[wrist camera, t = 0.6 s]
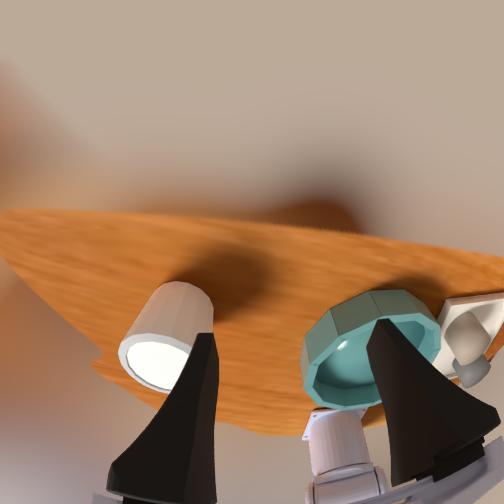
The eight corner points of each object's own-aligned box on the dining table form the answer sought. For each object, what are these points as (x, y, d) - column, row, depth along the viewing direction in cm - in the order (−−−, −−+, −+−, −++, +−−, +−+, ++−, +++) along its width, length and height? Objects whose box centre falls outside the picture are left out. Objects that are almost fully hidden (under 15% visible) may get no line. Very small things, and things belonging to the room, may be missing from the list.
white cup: (192, 346, 26) (179, 405, 20) (132, 307, 24) (105, 363, 18) (237, 306, 24) (232, 371, 17) (170, 259, 22) (142, 316, 15)
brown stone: (464, 339, 26) (478, 361, 22) (438, 344, 26) (452, 368, 22) (479, 309, 24) (496, 331, 20) (453, 313, 24) (471, 337, 20)
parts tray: (468, 367, 30) (472, 372, 29) (402, 383, 30) (405, 390, 29) (511, 291, 24) (516, 296, 23) (446, 298, 24) (451, 305, 23)
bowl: (400, 377, 29) (409, 398, 26) (293, 389, 29) (296, 414, 26) (444, 287, 23) (461, 308, 20) (312, 291, 23) (319, 319, 20)
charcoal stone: (468, 364, 29) (479, 383, 25) (447, 370, 29) (458, 391, 25) (482, 341, 27) (496, 361, 23) (461, 346, 27) (475, 368, 23)
